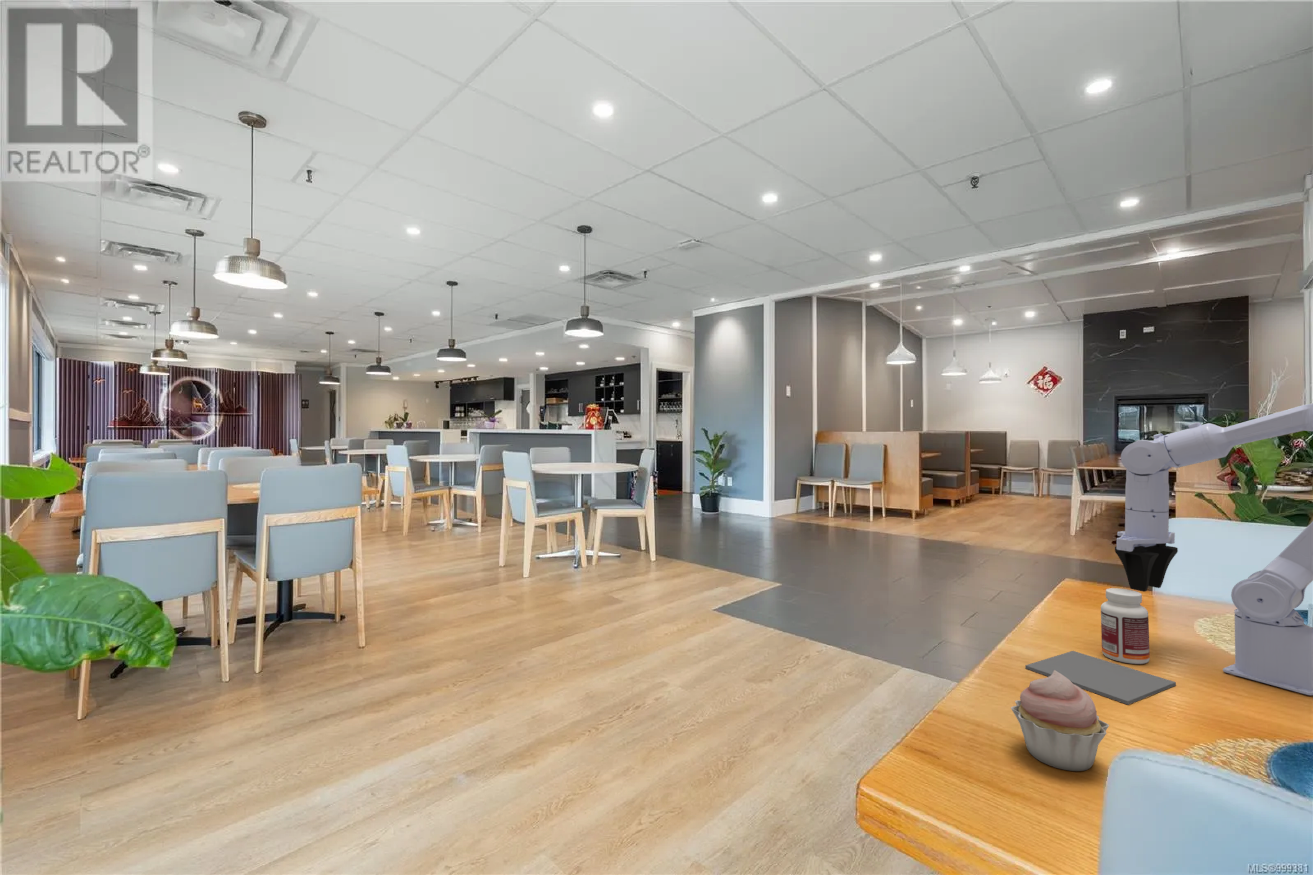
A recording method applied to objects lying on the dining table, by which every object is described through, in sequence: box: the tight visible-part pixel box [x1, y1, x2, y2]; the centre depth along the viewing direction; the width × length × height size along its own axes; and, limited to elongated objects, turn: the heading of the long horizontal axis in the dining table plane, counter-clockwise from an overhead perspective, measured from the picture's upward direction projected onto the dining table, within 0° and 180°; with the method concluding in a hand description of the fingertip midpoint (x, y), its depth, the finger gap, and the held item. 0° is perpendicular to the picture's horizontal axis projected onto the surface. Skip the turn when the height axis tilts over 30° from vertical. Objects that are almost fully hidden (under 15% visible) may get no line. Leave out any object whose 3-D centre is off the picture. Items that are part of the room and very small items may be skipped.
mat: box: [1024, 650, 1177, 706], centre depth 88 cm, size 14×13×1 cm
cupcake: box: [1010, 670, 1110, 772], centre depth 67 cm, size 9×9×10 cm
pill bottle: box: [1100, 587, 1151, 665], centre depth 95 cm, size 6×6×11 cm
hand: (1145, 588), depth 99 cm, fingers open, 4 cm apart
